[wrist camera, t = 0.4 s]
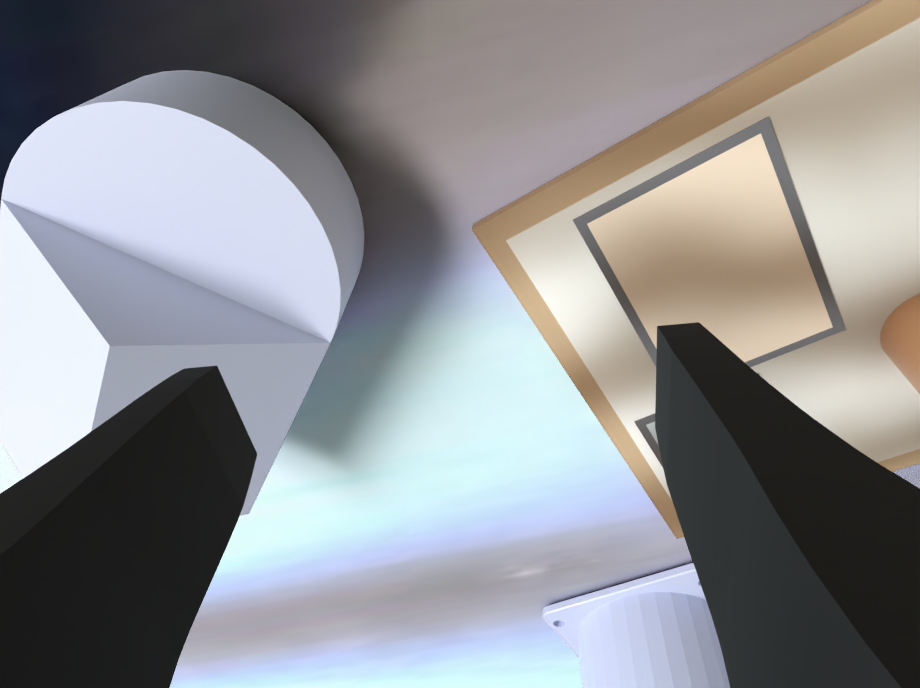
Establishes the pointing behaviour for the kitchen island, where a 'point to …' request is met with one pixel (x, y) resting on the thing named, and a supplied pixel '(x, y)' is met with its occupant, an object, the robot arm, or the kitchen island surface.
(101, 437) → the robot arm
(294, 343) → the wedge on round base
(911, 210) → the cream board
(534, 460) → the kitchen island surface
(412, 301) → the kitchen island surface
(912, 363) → the marker
